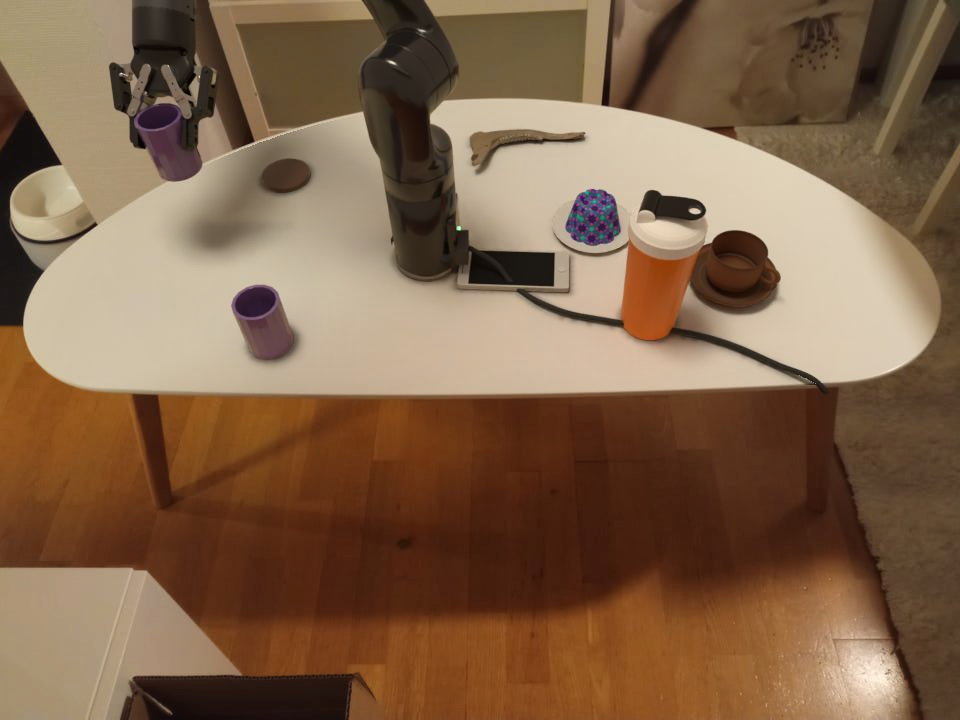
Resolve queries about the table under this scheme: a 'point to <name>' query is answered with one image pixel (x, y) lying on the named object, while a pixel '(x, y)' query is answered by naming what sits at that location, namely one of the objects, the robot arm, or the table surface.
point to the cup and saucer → (735, 270)
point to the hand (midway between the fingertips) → (164, 149)
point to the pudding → (592, 222)
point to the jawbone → (490, 140)
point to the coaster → (286, 175)
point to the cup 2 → (262, 321)
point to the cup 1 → (167, 142)
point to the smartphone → (517, 271)
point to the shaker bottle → (660, 261)
